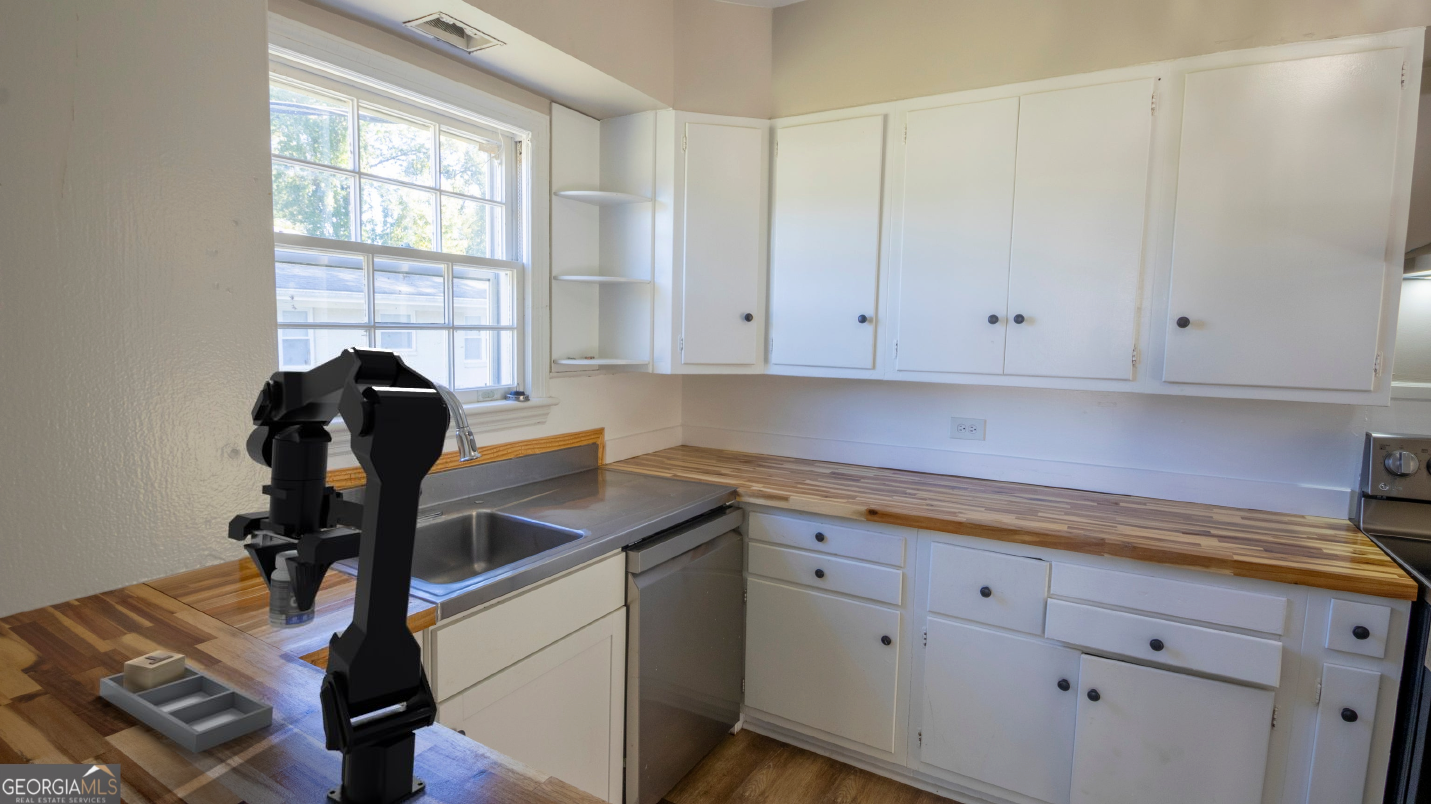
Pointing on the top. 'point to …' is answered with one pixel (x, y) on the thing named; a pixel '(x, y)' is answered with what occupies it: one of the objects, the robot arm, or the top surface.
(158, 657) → the letter cube
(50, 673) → the top surface
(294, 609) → the pill bottle
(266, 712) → the bay dish
